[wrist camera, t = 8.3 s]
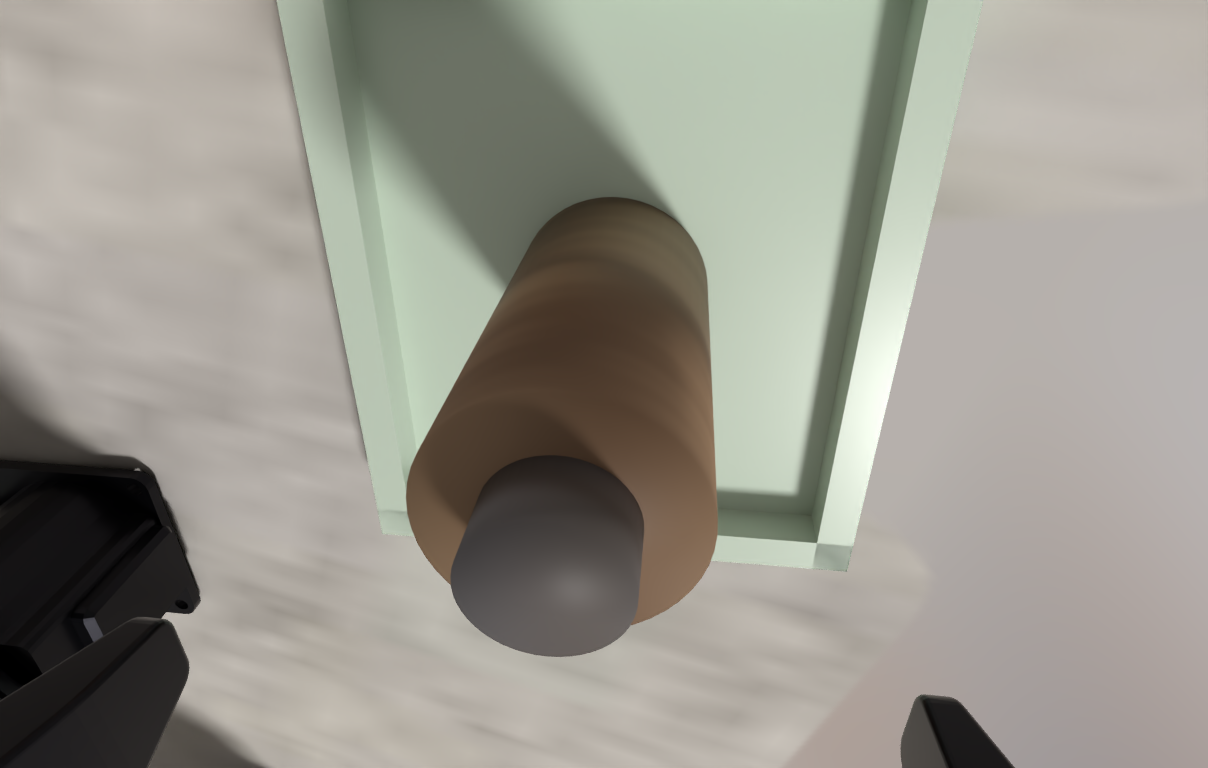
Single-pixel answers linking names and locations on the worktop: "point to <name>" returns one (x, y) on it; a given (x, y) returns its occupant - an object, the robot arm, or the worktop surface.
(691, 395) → the pepper mill
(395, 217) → the tray
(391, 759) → the worktop surface
